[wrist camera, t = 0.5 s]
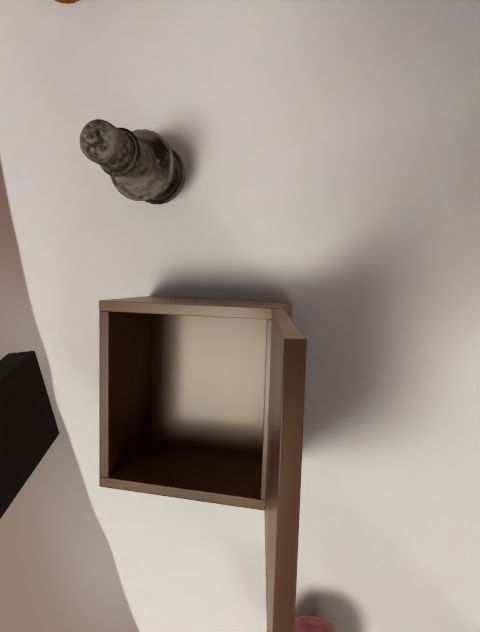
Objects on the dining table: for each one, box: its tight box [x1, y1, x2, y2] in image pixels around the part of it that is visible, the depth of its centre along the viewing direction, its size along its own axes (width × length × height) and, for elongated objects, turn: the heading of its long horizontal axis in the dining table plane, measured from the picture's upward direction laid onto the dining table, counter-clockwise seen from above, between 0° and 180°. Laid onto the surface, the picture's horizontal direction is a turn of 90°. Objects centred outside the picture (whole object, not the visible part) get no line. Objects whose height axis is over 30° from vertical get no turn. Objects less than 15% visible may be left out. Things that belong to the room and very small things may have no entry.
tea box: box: [99, 296, 292, 510], centre depth 36 cm, size 14×15×9 cm
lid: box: [265, 309, 307, 632], centre depth 23 cm, size 14×15×1 cm
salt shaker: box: [80, 119, 185, 204], centre depth 34 cm, size 6×6×12 cm
